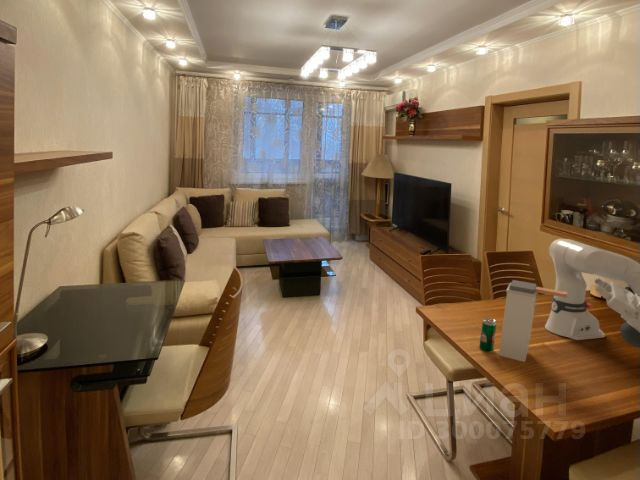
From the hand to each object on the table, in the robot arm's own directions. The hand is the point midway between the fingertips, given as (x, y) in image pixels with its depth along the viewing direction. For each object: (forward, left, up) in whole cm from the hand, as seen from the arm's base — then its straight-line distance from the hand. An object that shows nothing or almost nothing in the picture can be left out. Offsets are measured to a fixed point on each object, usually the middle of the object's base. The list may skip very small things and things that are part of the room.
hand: (596, 283), depth 141 cm
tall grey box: (+18, -12, -32) cm, 39 cm away
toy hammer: (+14, -10, -6) cm, 18 cm away
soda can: (+27, -16, -33) cm, 45 cm away
